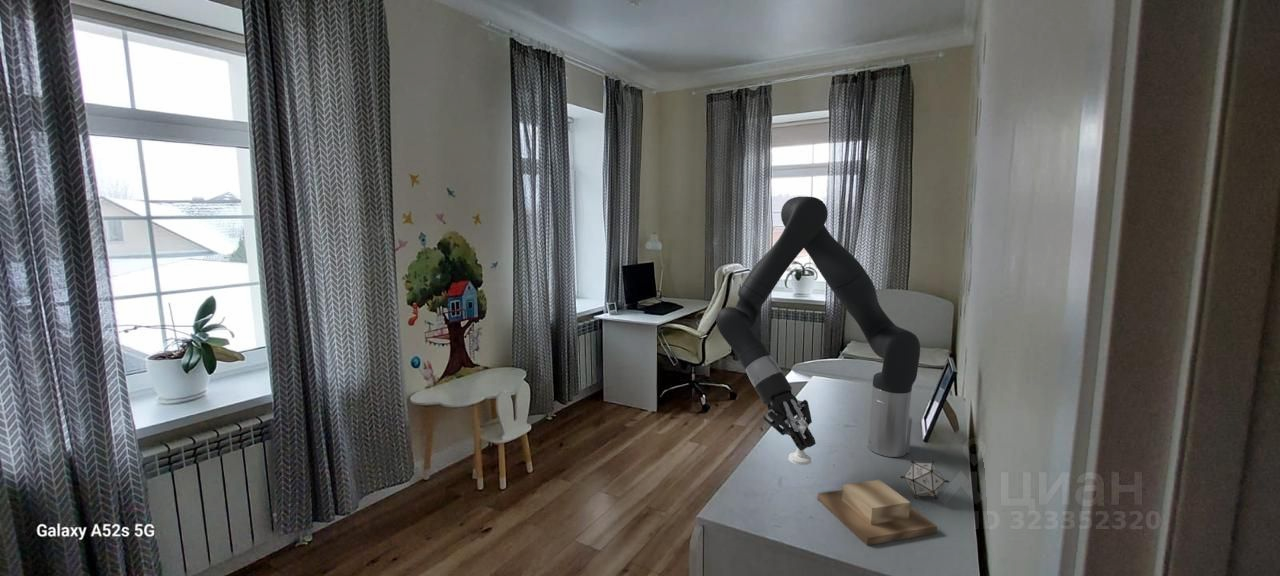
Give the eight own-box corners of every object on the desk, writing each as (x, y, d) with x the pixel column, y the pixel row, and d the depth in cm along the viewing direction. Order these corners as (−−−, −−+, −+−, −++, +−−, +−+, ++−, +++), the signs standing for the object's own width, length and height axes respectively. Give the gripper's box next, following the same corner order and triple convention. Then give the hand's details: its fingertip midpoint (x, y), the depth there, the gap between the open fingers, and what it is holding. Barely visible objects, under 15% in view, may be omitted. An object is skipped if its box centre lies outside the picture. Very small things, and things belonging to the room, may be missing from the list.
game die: (928, 515, 114) (947, 497, 107) (891, 492, 118) (906, 473, 111) (940, 484, 119) (959, 465, 112) (904, 463, 123) (919, 443, 116)
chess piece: (812, 466, 114) (814, 423, 112) (789, 464, 115) (791, 421, 113) (810, 455, 119) (812, 414, 117) (787, 453, 120) (789, 413, 118)
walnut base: (879, 490, 117) (881, 470, 116) (936, 532, 102) (938, 509, 101) (817, 499, 113) (819, 478, 112) (866, 545, 98) (868, 521, 97)
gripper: (756, 377, 116) (798, 449, 108) (796, 366, 124) (838, 432, 116) (738, 392, 121) (777, 462, 113) (778, 381, 129) (817, 445, 121)
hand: (808, 446), depth 114 cm, fingers closed on chess piece
